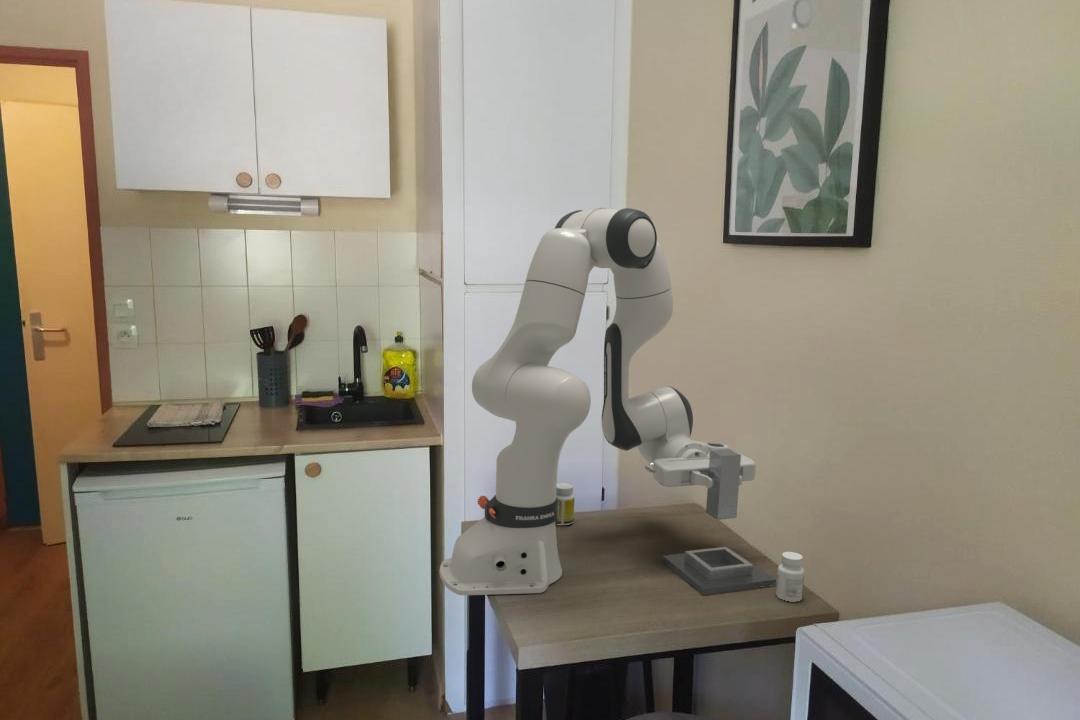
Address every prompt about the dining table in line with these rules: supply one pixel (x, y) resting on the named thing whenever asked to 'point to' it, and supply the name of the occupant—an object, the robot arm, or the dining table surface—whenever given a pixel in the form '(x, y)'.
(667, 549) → the dining table surface
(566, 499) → the supplement bottle
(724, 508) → the steel bar
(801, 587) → the pill bottle
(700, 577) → the block
